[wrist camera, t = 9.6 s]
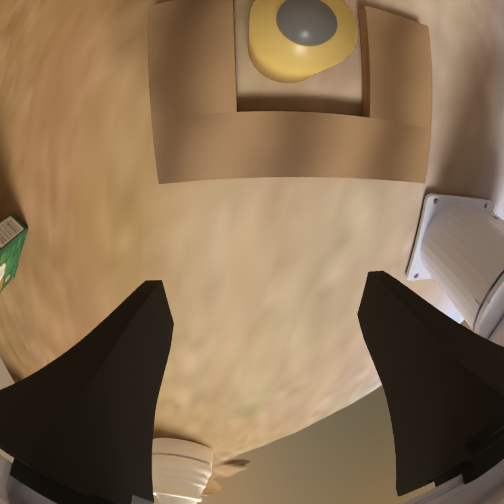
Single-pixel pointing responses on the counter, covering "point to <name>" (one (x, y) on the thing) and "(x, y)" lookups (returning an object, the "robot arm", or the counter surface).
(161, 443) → the honey pot
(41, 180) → the counter surface
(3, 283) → the coffee box
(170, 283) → the counter surface
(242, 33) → the counter surface
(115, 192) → the counter surface
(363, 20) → the brown u-shaped board
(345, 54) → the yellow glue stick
